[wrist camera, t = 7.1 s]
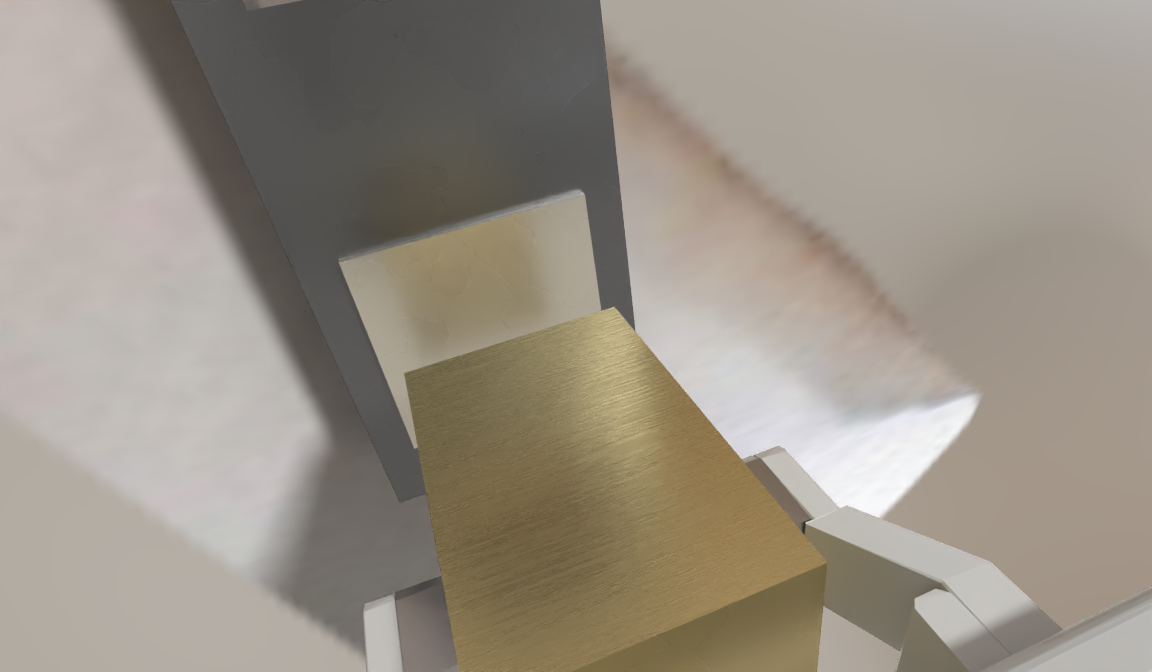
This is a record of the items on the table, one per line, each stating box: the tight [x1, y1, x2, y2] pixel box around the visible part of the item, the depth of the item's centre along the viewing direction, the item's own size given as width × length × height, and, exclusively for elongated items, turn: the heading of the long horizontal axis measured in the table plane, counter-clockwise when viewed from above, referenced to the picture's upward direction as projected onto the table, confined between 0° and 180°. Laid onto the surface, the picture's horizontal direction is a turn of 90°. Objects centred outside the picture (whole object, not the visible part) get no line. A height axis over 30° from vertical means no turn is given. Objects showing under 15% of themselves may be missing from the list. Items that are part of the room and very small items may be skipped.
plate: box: [170, 0, 635, 502], centre depth 14 cm, size 22×8×3 cm, turn 9°
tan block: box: [404, 307, 827, 672], centre depth 11 cm, size 4×4×7 cm
